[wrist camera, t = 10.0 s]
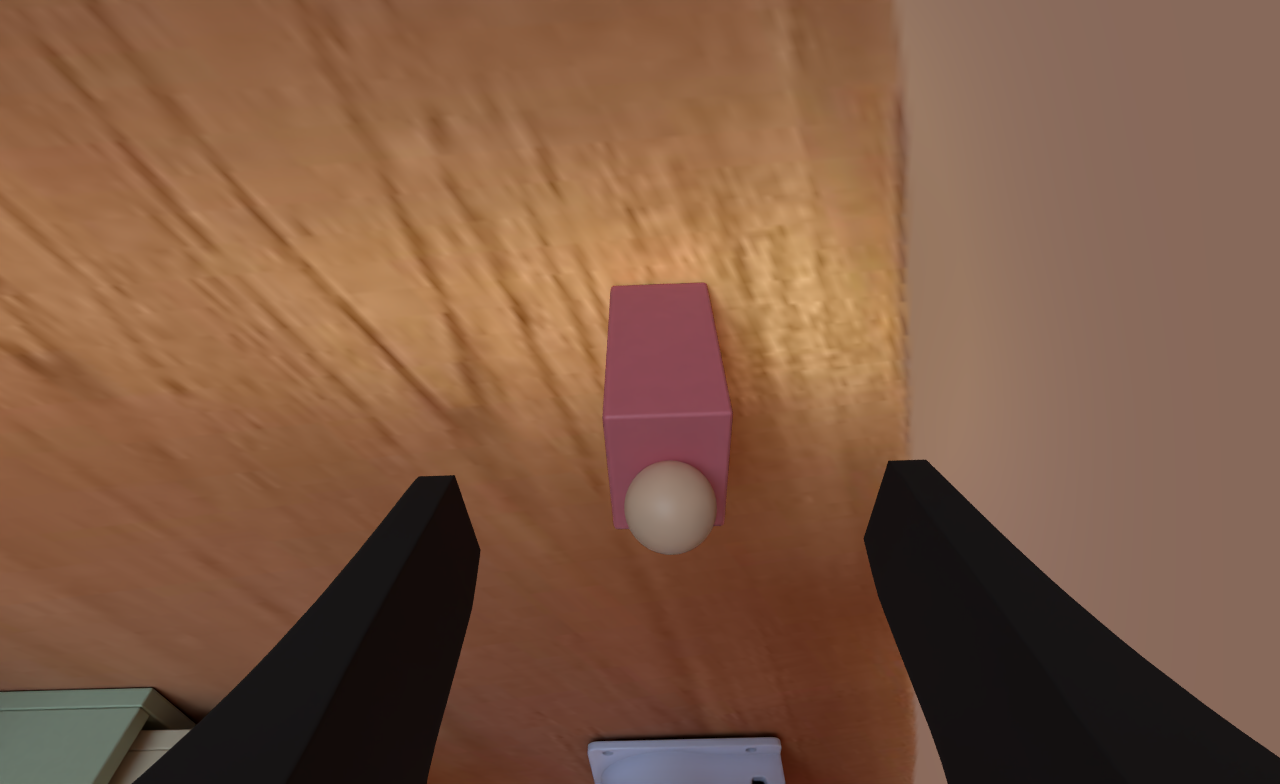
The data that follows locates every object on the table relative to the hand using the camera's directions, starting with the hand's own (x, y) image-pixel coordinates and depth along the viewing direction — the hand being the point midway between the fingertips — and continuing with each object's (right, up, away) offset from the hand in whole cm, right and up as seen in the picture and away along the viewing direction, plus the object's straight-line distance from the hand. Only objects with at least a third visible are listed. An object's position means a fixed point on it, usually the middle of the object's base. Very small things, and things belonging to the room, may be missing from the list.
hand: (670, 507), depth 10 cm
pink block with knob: (0, +3, +4) cm, 5 cm away
